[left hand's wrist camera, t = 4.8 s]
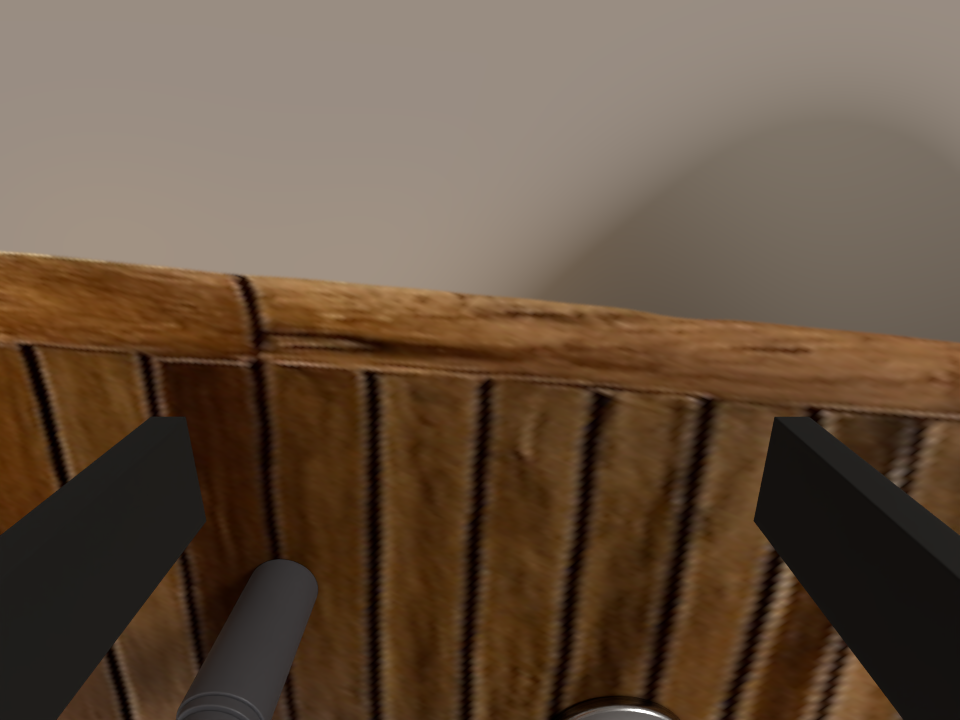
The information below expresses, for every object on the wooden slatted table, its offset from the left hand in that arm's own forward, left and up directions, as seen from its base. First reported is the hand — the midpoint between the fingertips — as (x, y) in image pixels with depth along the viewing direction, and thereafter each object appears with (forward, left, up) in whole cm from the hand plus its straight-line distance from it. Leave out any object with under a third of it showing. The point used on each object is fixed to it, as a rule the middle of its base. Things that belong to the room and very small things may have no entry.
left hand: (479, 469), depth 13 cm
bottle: (-29, +17, -28) cm, 44 cm away
